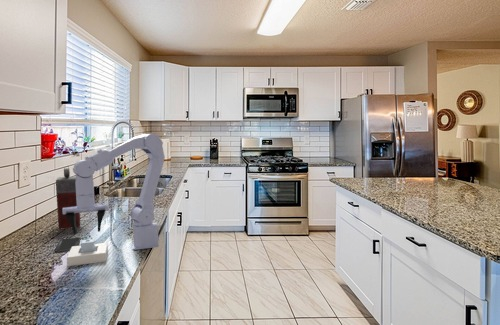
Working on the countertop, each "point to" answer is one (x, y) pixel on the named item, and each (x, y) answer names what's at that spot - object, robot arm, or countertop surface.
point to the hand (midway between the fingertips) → (87, 232)
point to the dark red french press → (66, 198)
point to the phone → (67, 244)
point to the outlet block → (87, 255)
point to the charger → (87, 246)
